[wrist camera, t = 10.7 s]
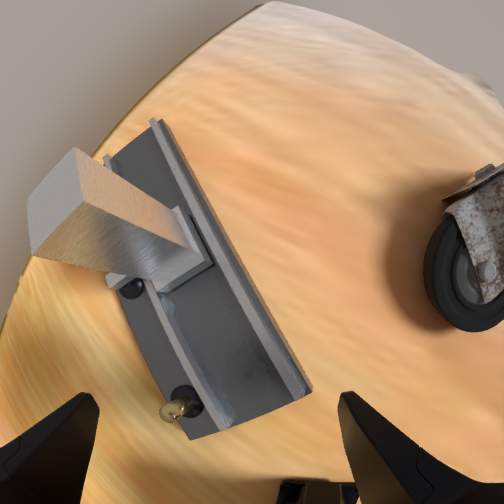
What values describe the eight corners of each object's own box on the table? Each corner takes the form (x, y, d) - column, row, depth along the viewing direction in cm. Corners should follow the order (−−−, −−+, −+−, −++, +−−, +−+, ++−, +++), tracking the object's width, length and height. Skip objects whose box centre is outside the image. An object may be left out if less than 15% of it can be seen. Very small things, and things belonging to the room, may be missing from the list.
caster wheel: (435, 332, 18) (390, 218, 19) (530, 269, 14) (491, 162, 15) (460, 367, 12) (406, 210, 13) (573, 279, 8) (529, 139, 9)
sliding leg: (213, 263, 19) (91, 213, 8) (136, 312, 19) (5, 306, 9) (187, 212, 20) (76, 133, 9) (117, 262, 21) (-3, 229, 10)
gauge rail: (312, 385, 17) (310, 408, 13) (197, 433, 18) (171, 457, 14) (169, 126, 24) (145, 100, 20) (94, 186, 25) (65, 170, 21)
